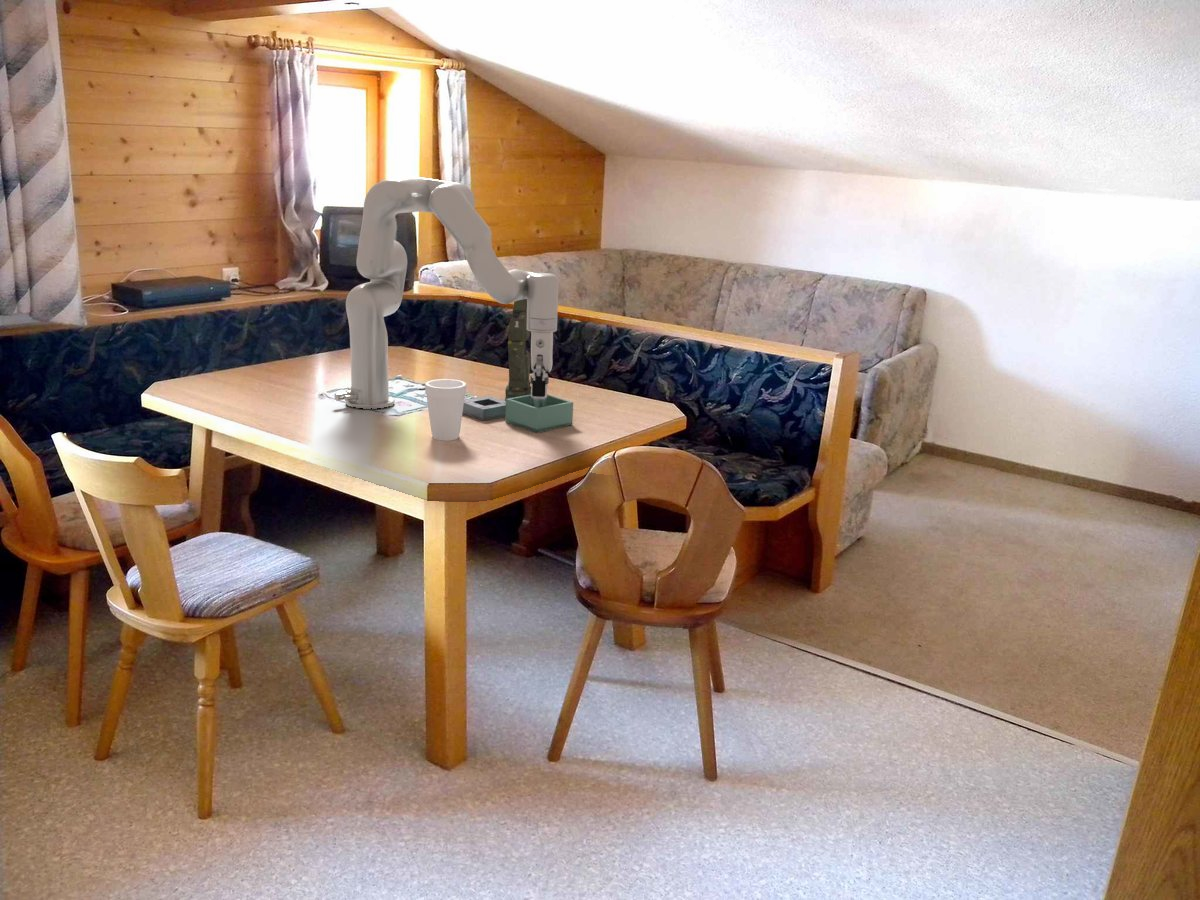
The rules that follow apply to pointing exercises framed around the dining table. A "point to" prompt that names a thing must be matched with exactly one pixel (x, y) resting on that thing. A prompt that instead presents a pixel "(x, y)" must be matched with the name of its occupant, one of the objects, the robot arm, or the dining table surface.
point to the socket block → (485, 408)
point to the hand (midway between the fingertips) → (539, 391)
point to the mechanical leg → (518, 352)
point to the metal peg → (539, 401)
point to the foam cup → (445, 407)
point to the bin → (539, 413)
